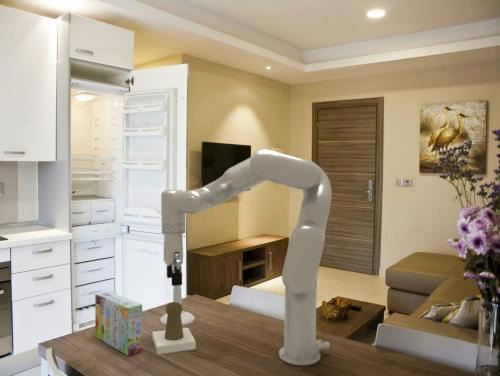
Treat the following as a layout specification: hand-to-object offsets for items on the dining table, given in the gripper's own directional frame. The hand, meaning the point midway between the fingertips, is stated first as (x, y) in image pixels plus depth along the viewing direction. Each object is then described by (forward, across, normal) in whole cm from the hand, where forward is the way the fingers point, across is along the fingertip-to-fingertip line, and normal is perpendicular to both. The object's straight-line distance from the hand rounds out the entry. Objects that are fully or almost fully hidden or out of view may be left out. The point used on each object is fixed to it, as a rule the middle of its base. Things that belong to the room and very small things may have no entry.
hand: (174, 281), depth 136 cm
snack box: (+21, -6, -18) cm, 28 cm away
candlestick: (+21, -21, +4) cm, 30 cm away
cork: (+18, 0, 0) cm, 18 cm away
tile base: (+21, 0, 0) cm, 21 cm away
